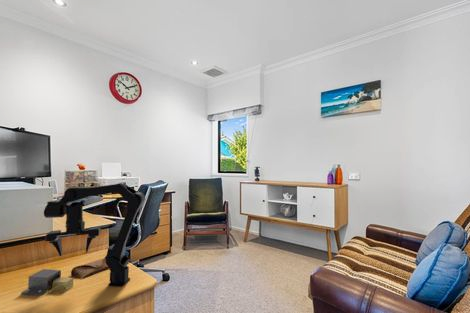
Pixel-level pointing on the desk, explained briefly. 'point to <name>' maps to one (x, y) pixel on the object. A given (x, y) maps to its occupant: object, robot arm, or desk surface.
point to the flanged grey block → (41, 281)
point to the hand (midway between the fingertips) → (74, 254)
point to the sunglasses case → (89, 269)
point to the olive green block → (62, 284)
